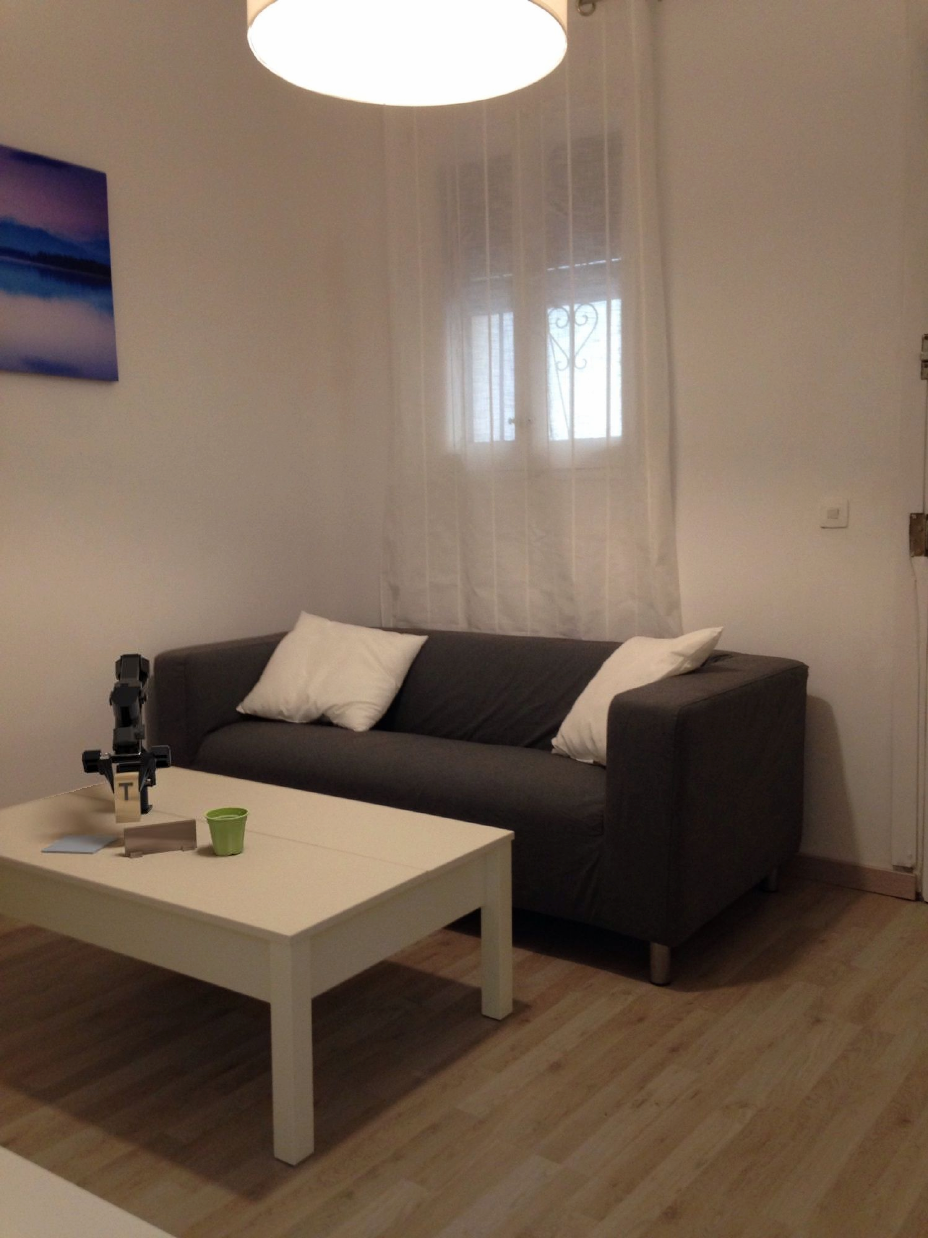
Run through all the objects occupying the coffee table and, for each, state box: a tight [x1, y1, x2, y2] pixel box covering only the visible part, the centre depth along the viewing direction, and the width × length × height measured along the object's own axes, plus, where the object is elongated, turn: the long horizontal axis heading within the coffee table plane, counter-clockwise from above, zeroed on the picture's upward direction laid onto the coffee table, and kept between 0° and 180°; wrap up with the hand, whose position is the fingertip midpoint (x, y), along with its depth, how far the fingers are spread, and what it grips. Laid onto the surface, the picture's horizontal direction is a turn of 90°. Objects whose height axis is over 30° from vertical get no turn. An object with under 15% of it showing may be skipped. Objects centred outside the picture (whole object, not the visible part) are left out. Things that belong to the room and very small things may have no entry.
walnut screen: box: [123, 818, 198, 859], centre depth 242 cm, size 4×15×6 cm, turn 114°
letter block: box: [113, 772, 142, 825], centre depth 246 cm, size 5×5×10 cm
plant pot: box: [203, 806, 250, 857], centre depth 241 cm, size 9×9×9 cm
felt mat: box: [41, 834, 120, 855], centre depth 248 cm, size 12×12×1 cm
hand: (126, 791), depth 245 cm, fingers closed on letter block, 5 cm apart
